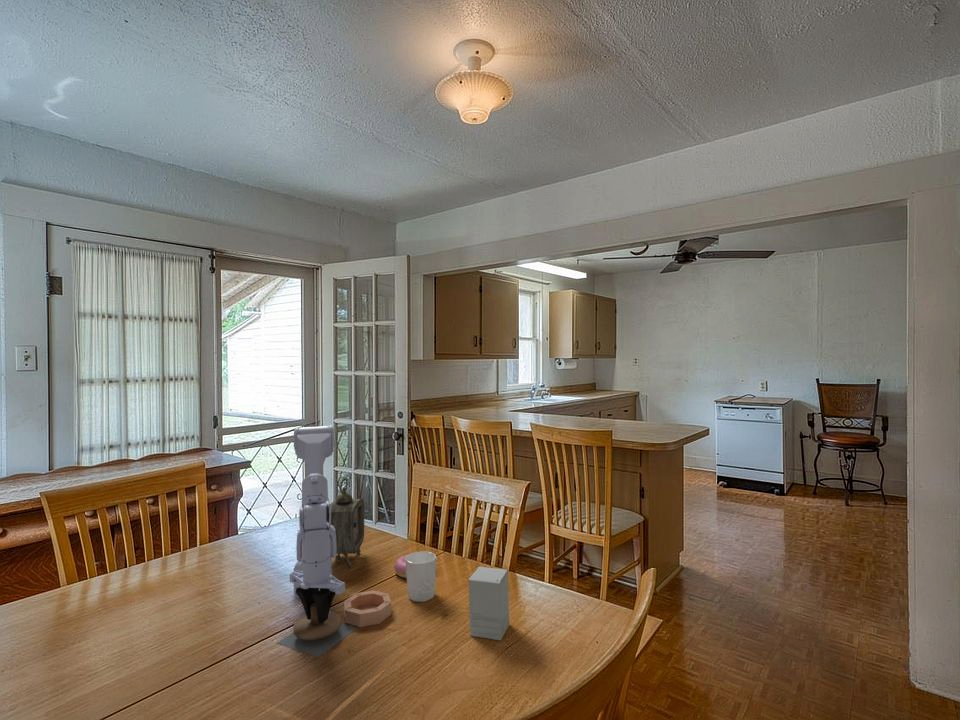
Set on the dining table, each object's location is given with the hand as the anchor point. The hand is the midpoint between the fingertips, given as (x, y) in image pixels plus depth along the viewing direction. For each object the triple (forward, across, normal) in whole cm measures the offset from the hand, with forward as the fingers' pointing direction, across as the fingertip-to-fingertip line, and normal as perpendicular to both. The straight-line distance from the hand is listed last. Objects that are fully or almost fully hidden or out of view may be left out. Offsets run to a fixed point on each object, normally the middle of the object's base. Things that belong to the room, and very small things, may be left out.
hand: (317, 619), depth 111 cm
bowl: (+4, +4, +12) cm, 13 cm away
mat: (+4, 0, 0) cm, 4 cm away
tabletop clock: (+5, -24, +35) cm, 43 cm away
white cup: (+4, +10, +26) cm, 28 cm away
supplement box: (+4, +33, +19) cm, 38 cm away
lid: (+2, 0, 0) cm, 2 cm away
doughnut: (+5, 0, +37) cm, 37 cm away
